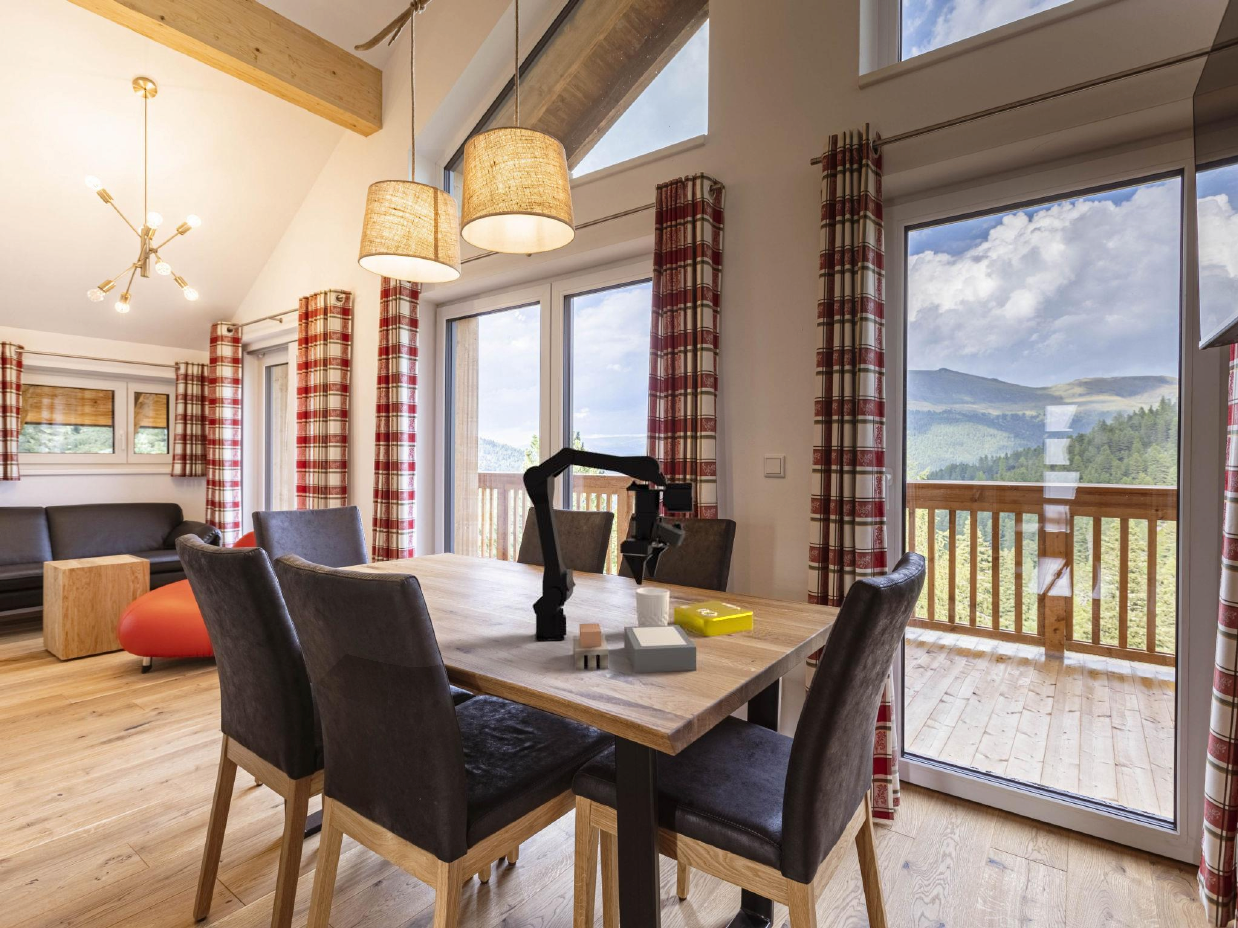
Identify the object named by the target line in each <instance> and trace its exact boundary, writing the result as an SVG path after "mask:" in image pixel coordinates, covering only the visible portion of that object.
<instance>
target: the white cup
mask: <svg viewBox="0 0 1238 928" xmlns="http://www.w3.org/2000/svg"><path fill="white" fill-rule="evenodd" d="M635 598H636V599H635V600H636V601H635V602H636V605H635V606H636V614H637V617H636V620H637V626H662V625H668V623H669V613H670V590H669V589H667V588H662V587H641V588H638V589H636V590H635Z"/></svg>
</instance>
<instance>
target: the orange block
mask: <svg viewBox="0 0 1238 928" xmlns="http://www.w3.org/2000/svg"><path fill="white" fill-rule="evenodd" d="M578 626H579V636H580V643H581V647H597V646H601V635H602V630H601V626H600V623H599V622H598V623H597V622H596V623H595V622H594V623H593V622H592V623H579V625H578Z"/></svg>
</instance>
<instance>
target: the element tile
mask: <svg viewBox="0 0 1238 928" xmlns="http://www.w3.org/2000/svg"><path fill="white" fill-rule="evenodd" d="M673 625H679V626H680V627H681V628H682V629H686V630H688V631H690V632H693V633H695V634H698V635H700V636H704V637H718V636H723V635H729V634H733V633H734V634H735V633H740V632H745V631H749V630H753V629H754V612H753V611H752V610H749V609H745V608H744V607H739V606H737V605H733V604H731V603H730V604H729V603H727V602H723V601H720V600H711V601H710V600H709V601H705V602H704V601H703V602H697V603H691V604H685V605H677V606H674V607H673Z"/></svg>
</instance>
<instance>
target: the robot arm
mask: <svg viewBox="0 0 1238 928" xmlns="http://www.w3.org/2000/svg"><path fill="white" fill-rule="evenodd" d="M570 466H578V467H583V468H589V469H596V470H603V471H608V472H609V471H610V472H616V473H619V474H621V475H622V474H623V475H625V476H628V477H630V478H633V479H634V480H632V481H631V483H630V484H629V485H627V487H626V488H625V490H626V492H634V510H633V511H634V514H633V515H632V516H631V519H630V520H631V522H633V523H634V524H633V534H631V535H630V538H628V539H624V540H623V541H621V543H620V545H619V546H620V547H619V548H620V549H619V554H622V557H624V559H625V560H626V561H625V562H626V563H627V565H628V567H629V569H630V571H631V574H632V577H633V578H634V582H635V584H636V585H638V586H642V585H643V583H644V582H643V581H644V577H645V570H646V569H647V574H648V576H649V578H655V576H656V572H657V568H658V565H659V561H660V559H661V555H662V553H663V552H665V551H666V550H667V549H668V548H669V546H671V547H674V548H678V546H679V547H680V546H681V545H682V543H683V540H684V538H685V537H686V531H685V529H684V524H682V523H681V522H674V523H673V524H667V523H665V522H664V517H663V515H661V493H662V508H664V509H667V513H684V514H685V513H688V514H689V513H691V514H692V513H694V496H693V481H686V482H669V480H668V478H666V476H665V474H664V473H663V472H662V465H661V461H659V459H658V458H657V457H655V456H653V455H629V456H628V455H627V456H623V455H622V456H620V455H614V454H608V453H602V452H601V453H600V452H594V451H587V450H580V449H576V448H573V447H565V446H564V447H562V448H561V449H559V451H558V452H556V453H555V454H554V455H552V456H550V457H549V458H547V459H546V460H544V461H543V462H541V463H539V465H533V466H532V465H531V466H530V467H528V468H527V469H526V470H525V471H524V473H523V476H522V482H523V484H524V488H525V490H526V494H527V495H528V498H529V499H530V501H531V503H532V506H533V508H534V513H535V519H536V525H537V530H538V531H537V532H538V537H539V543H540V549H541V555H542V563H543V576H542V583H541V584H542V586H541V587H542V592H541V593H542V595H541V596H540V597H539V598H538V599H537V600H536V601H535V602H534V603H533V604H532V608H533V612H534V614H535V638H534V639H535V641H536V642H537V641H563V640H565V636H566V635H567V615H566V614H564V613H565V612H564V605H565V603H566V602H567V601H568V600H569V599H570V598H571V597H572V595H573V593H574V588H575V586H576V582H575V580H574V571H573V568H570V569H567V567H566V565H565V564H564V561H563V555H562V550H561V544H560V537H559V533H558V527H557V520H556V515H555V509H554V497H555V489H556V488H555V483H556V482H555V479H556V478H557V477H559V476H560V475H561V474H563V473H564V471H566V470H567V469H568V468H569V467H570ZM636 480H638V481H640V482H641V481H642V482H647V483H638V482H637V481H636ZM648 482H650V483H648ZM651 483H652V484H653V485H655V486H656V487H661V488H652V486H651ZM663 487H664V488H663ZM645 568H646V569H645Z"/></svg>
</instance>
